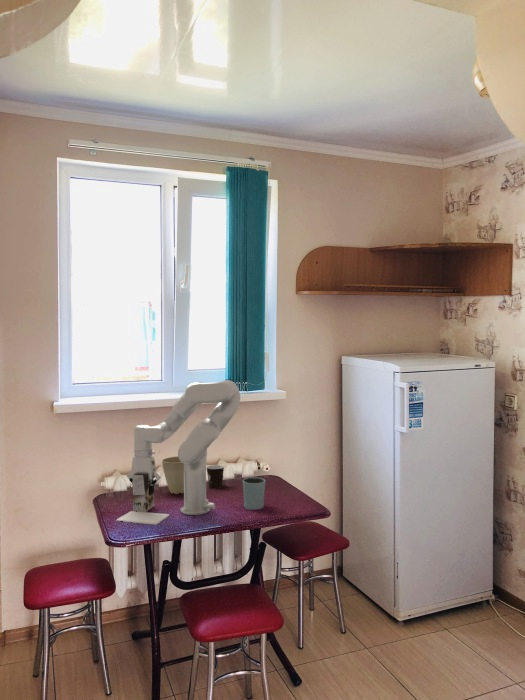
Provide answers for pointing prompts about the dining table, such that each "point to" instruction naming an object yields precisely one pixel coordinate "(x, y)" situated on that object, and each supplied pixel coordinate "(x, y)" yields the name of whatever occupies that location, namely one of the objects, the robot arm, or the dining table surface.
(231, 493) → the dining table surface
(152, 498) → the coffee box
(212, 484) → the coffee mug
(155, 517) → the mat
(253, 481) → the teal cup
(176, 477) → the plant pot
